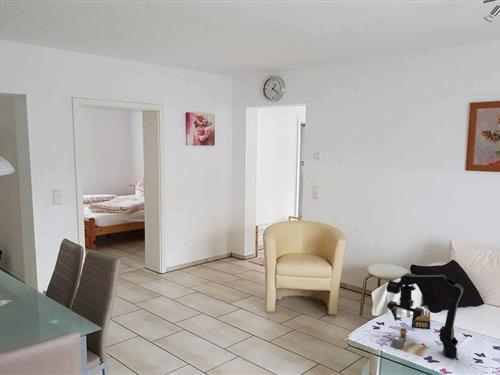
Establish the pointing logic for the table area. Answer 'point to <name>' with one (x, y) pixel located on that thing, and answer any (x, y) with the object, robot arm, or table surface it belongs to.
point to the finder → (398, 342)
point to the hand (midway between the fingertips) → (404, 322)
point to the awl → (403, 334)
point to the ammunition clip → (422, 321)
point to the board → (414, 348)
